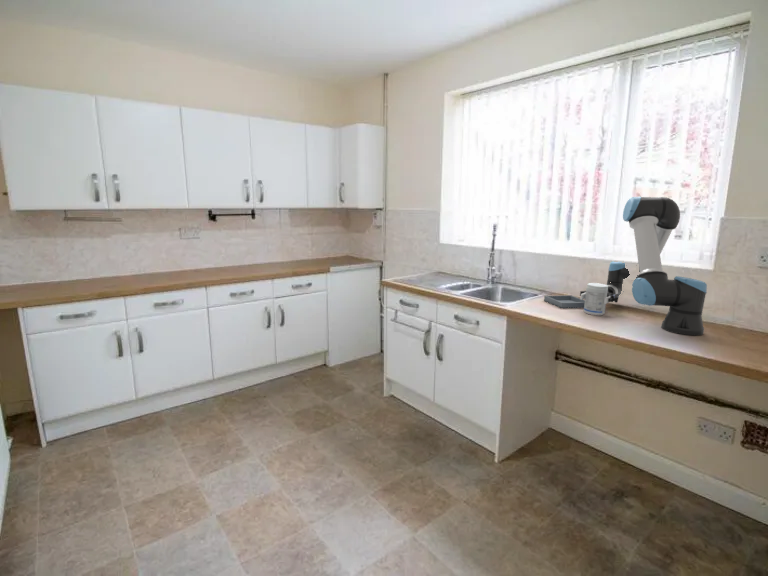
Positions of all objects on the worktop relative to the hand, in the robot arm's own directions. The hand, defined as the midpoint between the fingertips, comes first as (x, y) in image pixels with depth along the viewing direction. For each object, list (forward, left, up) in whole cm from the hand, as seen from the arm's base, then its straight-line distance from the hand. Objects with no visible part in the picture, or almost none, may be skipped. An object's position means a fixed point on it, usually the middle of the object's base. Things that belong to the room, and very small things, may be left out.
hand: (592, 298), depth 202 cm
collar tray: (+21, 0, -8) cm, 22 cm away
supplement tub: (+2, -3, -8) cm, 9 cm away
